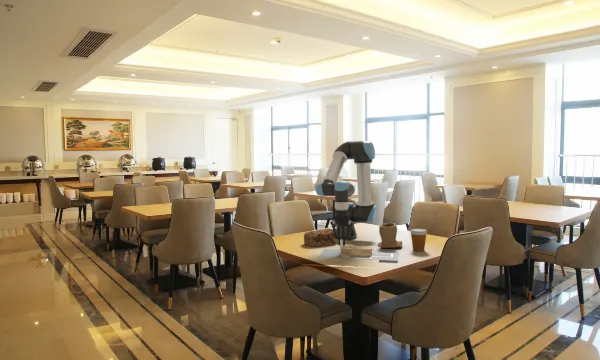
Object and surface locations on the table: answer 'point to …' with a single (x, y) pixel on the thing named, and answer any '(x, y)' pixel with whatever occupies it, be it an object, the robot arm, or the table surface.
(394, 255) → the t board
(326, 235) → the bread
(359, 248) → the t block
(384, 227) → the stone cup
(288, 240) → the table surface
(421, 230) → the disposable coffee cup
